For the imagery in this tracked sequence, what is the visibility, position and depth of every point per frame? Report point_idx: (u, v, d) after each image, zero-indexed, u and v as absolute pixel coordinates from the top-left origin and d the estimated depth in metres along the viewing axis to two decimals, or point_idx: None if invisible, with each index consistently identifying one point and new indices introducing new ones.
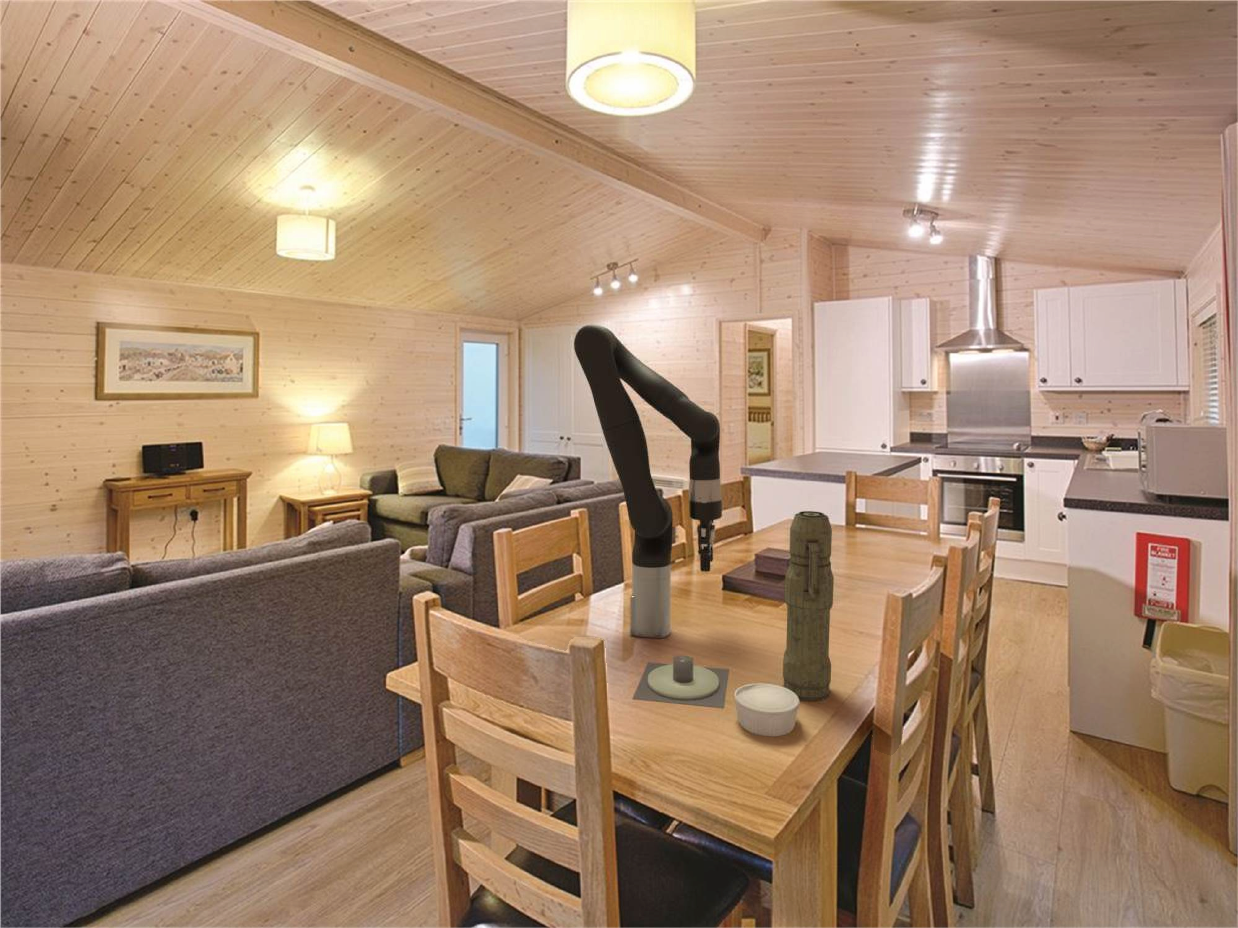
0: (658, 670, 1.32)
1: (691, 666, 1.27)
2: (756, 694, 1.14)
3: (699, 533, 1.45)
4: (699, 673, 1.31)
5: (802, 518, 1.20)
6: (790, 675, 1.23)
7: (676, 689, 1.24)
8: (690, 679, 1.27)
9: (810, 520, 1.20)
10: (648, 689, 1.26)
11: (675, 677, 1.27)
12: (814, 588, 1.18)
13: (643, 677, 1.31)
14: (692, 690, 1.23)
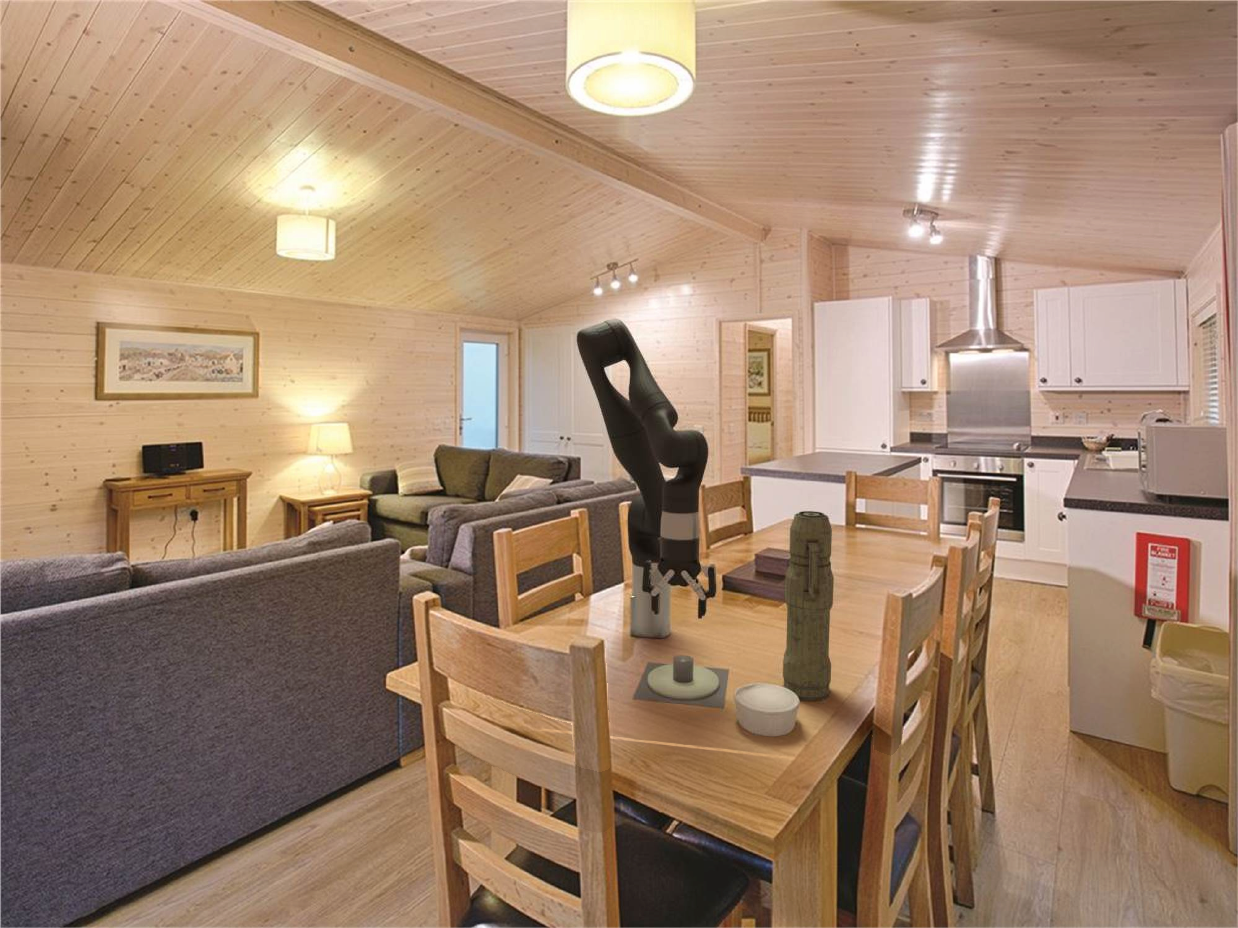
0: (658, 670, 1.32)
1: (691, 666, 1.27)
2: (756, 694, 1.14)
3: (714, 572, 1.23)
4: (699, 673, 1.31)
5: (802, 518, 1.20)
6: (790, 675, 1.23)
7: (676, 689, 1.24)
8: (690, 679, 1.27)
9: (810, 520, 1.20)
10: (648, 689, 1.26)
11: (675, 677, 1.27)
12: (814, 588, 1.18)
13: (643, 677, 1.31)
14: (692, 690, 1.23)
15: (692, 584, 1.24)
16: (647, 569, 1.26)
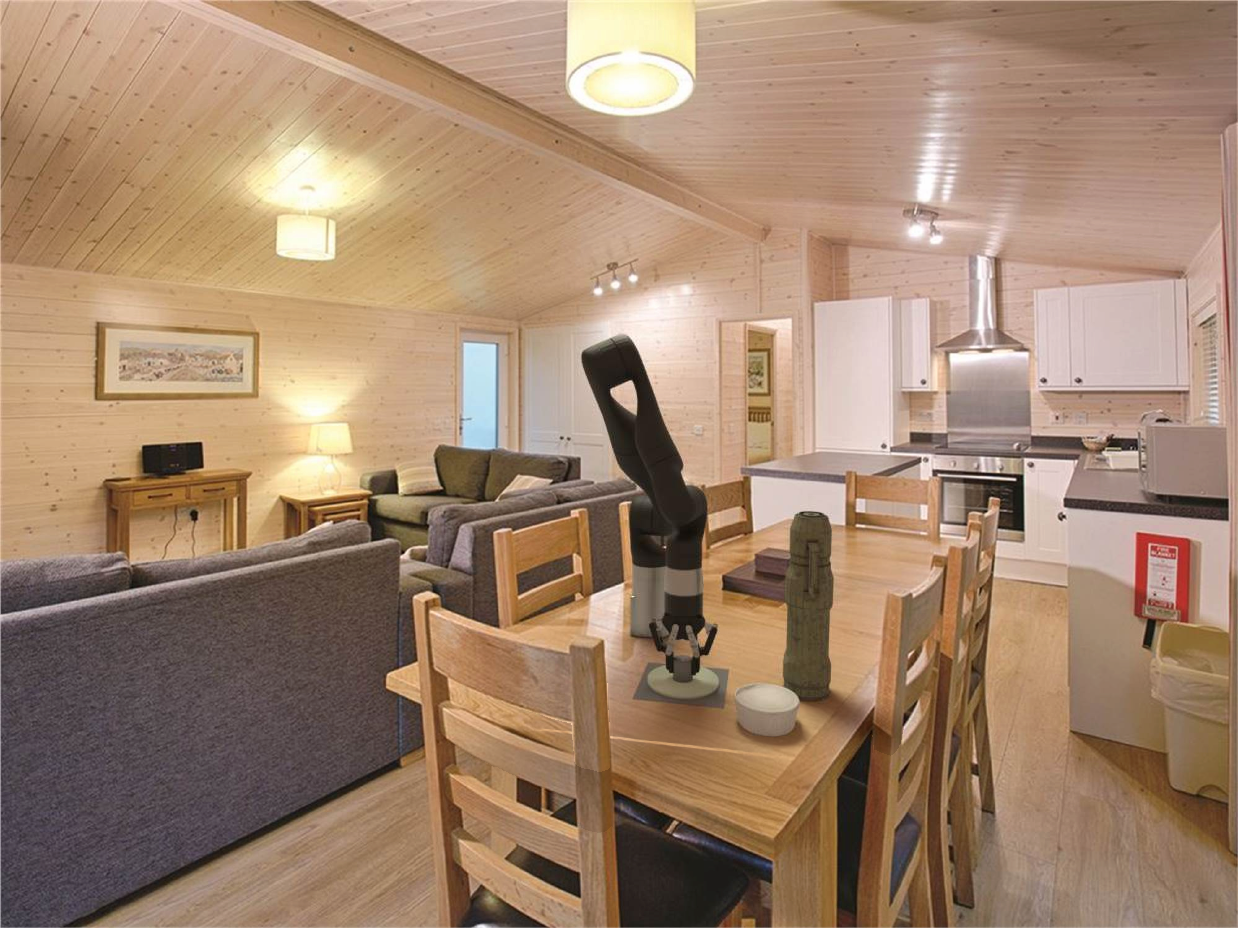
0: (658, 670, 1.32)
1: (691, 666, 1.27)
2: (756, 694, 1.14)
3: (716, 633, 1.25)
4: (699, 673, 1.31)
5: (802, 518, 1.20)
6: (790, 675, 1.23)
7: (676, 689, 1.24)
8: (690, 679, 1.27)
9: (810, 520, 1.20)
10: (648, 689, 1.26)
11: (675, 677, 1.27)
12: (814, 588, 1.18)
13: (643, 677, 1.31)
14: (692, 690, 1.23)
15: (692, 640, 1.25)
16: (654, 629, 1.27)
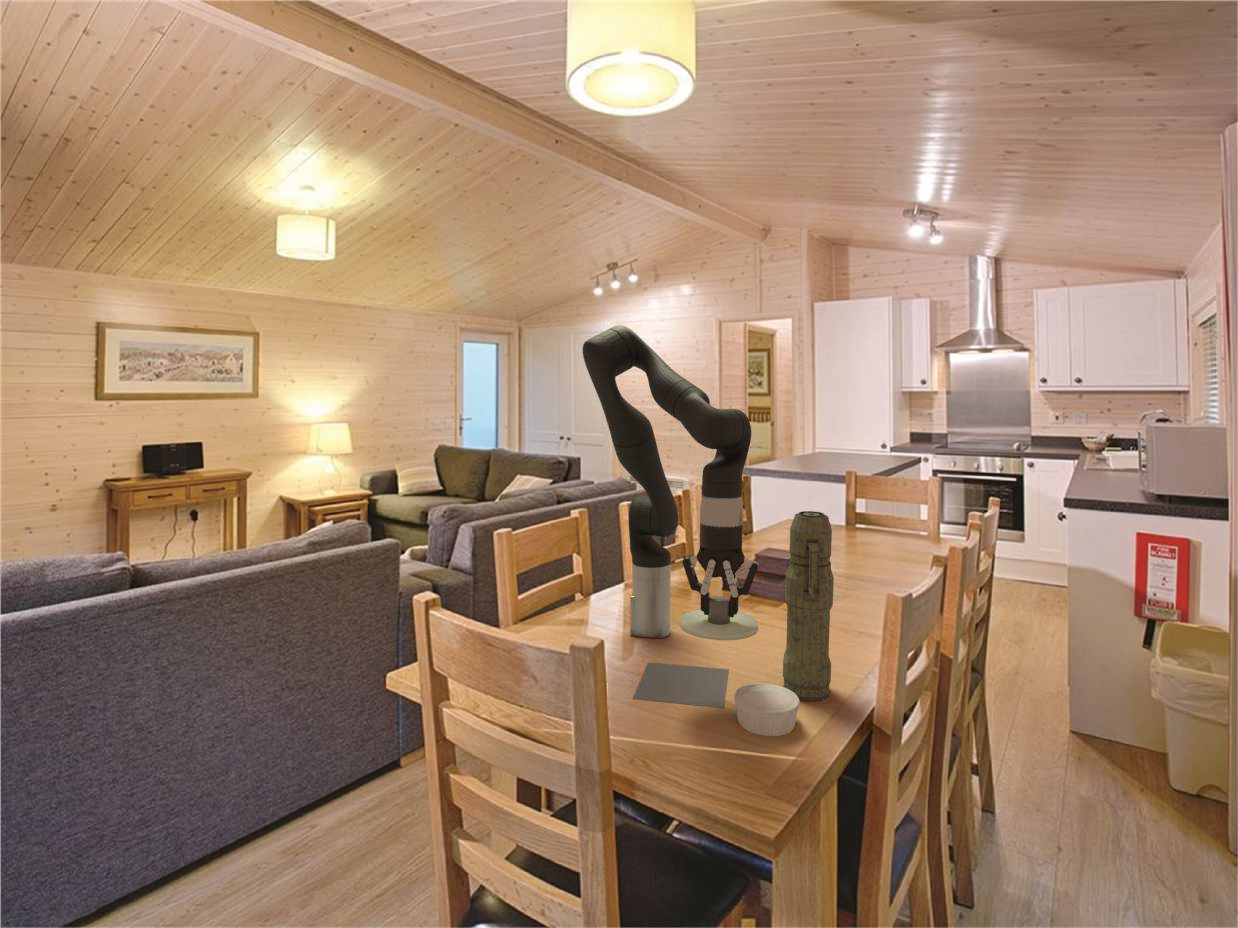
0: (692, 613, 1.21)
1: (728, 607, 1.16)
2: (756, 694, 1.14)
3: (756, 570, 1.14)
4: (736, 617, 1.19)
5: (802, 518, 1.20)
6: (790, 675, 1.23)
7: (711, 629, 1.13)
8: (727, 621, 1.16)
9: (810, 520, 1.20)
10: (648, 689, 1.26)
11: (710, 619, 1.16)
12: (814, 588, 1.18)
13: (643, 677, 1.31)
14: (729, 631, 1.12)
15: (730, 577, 1.14)
16: (688, 565, 1.17)
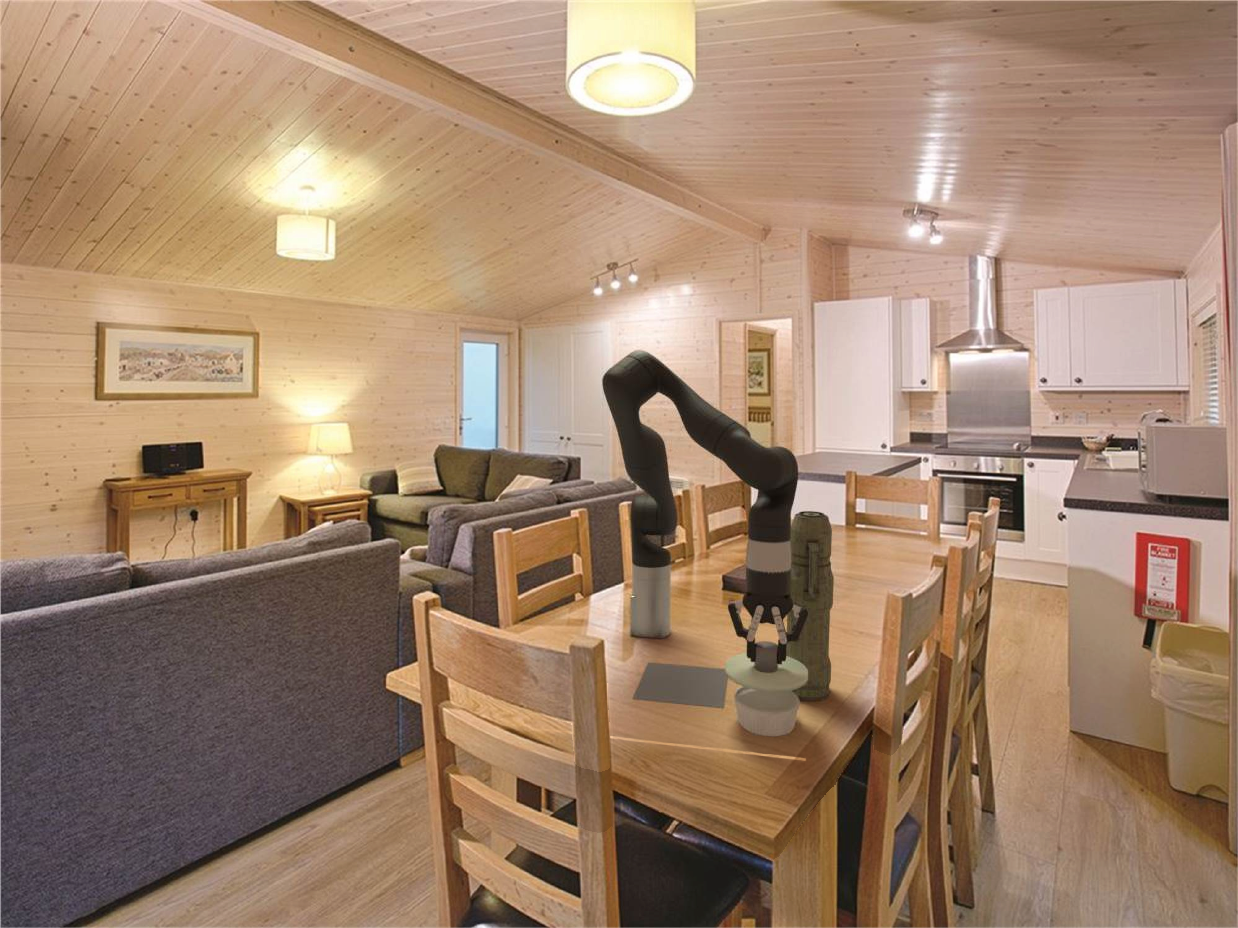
0: (735, 659, 1.16)
1: (776, 653, 1.11)
2: (756, 694, 1.14)
3: (806, 616, 1.09)
4: (783, 662, 1.14)
5: (802, 518, 1.20)
6: None
7: (762, 679, 1.07)
8: (775, 668, 1.11)
9: (810, 520, 1.20)
10: (648, 689, 1.26)
11: (758, 666, 1.11)
12: (814, 588, 1.18)
13: (643, 677, 1.31)
14: (780, 681, 1.07)
15: (778, 624, 1.09)
16: (733, 611, 1.11)
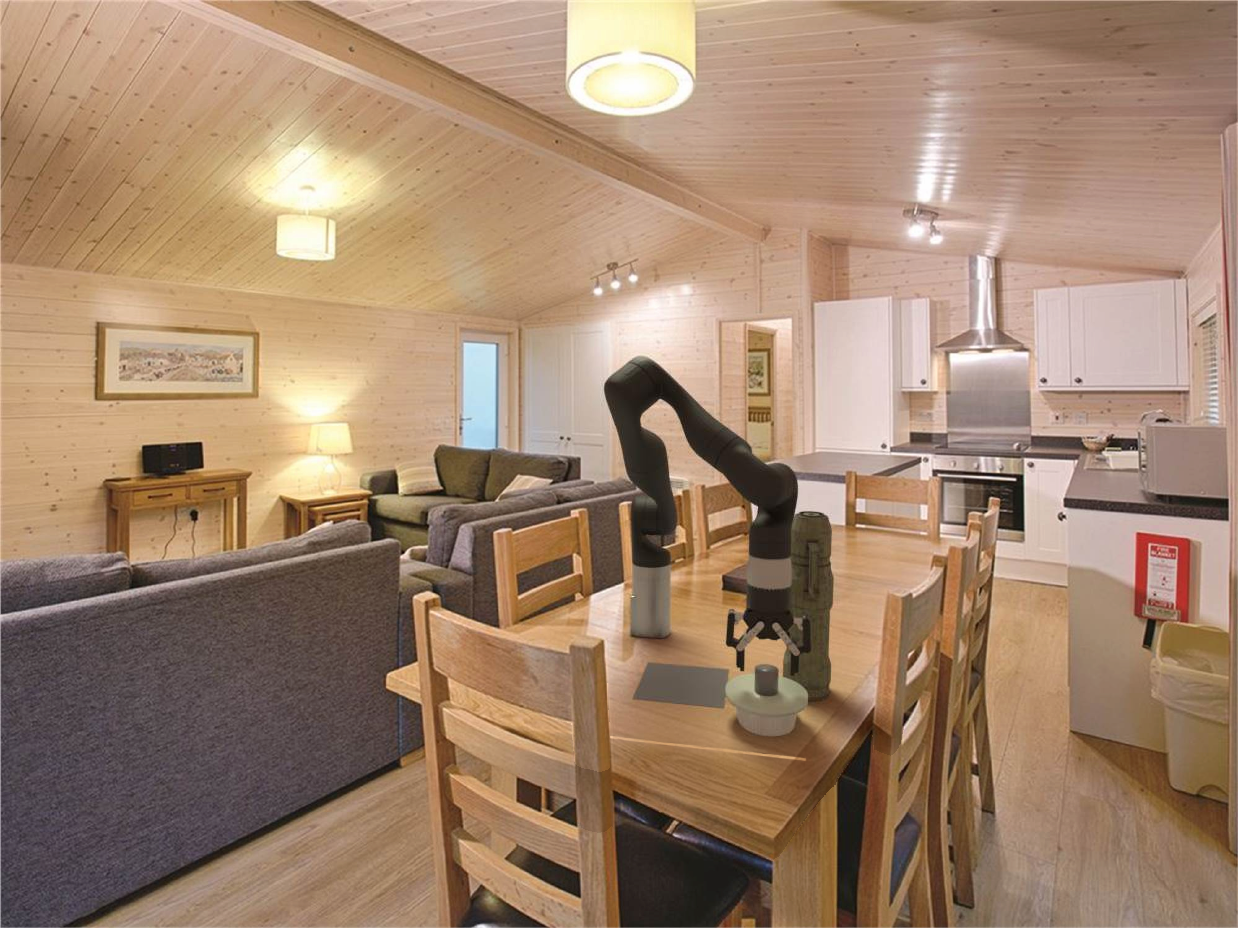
0: (735, 681, 1.16)
1: (777, 677, 1.11)
2: None
3: None
4: (782, 684, 1.15)
5: (802, 518, 1.20)
6: None
7: (762, 704, 1.08)
8: (775, 692, 1.11)
9: (810, 520, 1.20)
10: (648, 689, 1.26)
11: (758, 690, 1.11)
12: (814, 588, 1.18)
13: (643, 677, 1.31)
14: (781, 705, 1.08)
15: (784, 638, 1.09)
16: (732, 621, 1.12)
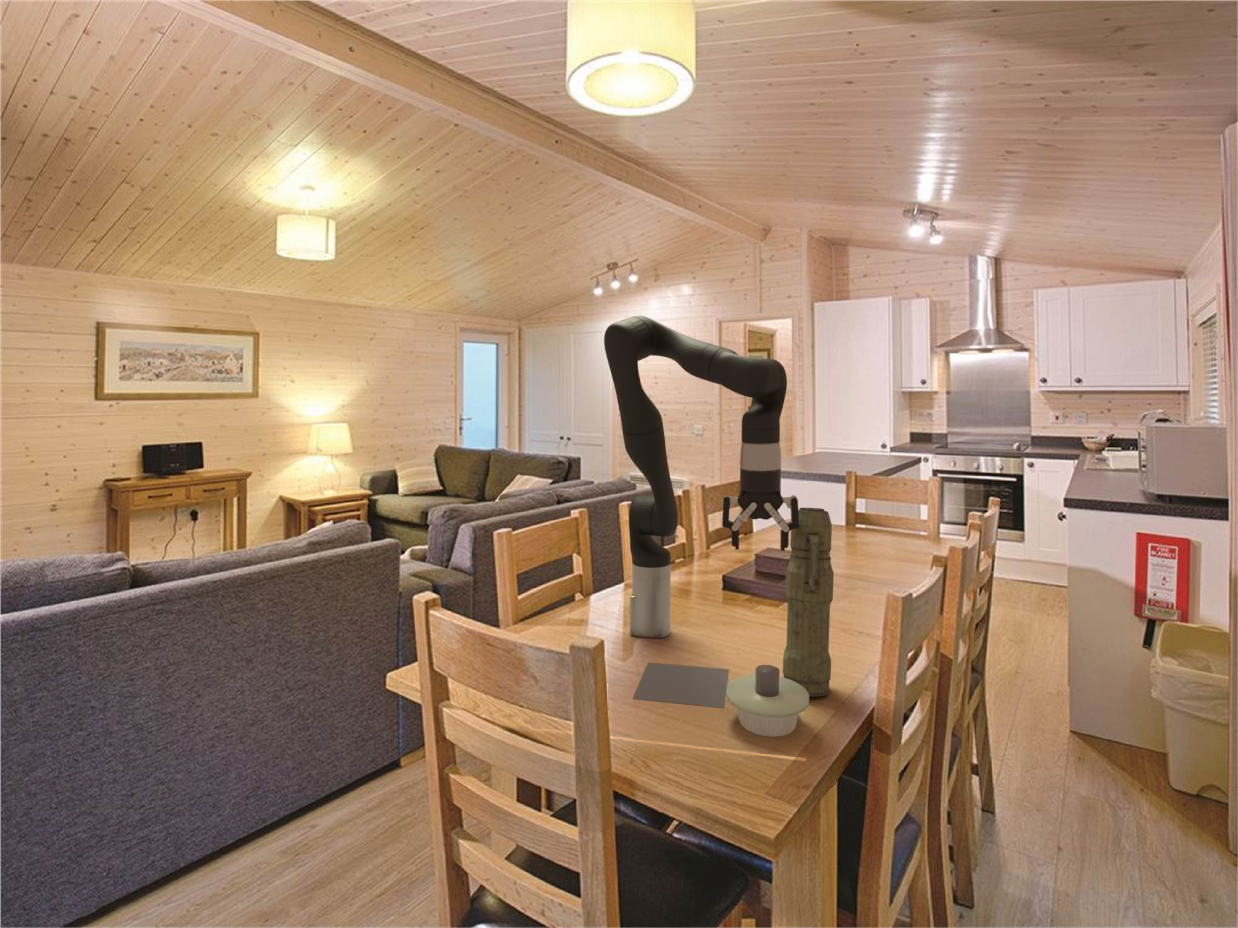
0: (736, 682, 1.16)
1: (778, 678, 1.11)
2: None
3: (797, 503, 1.21)
4: (783, 685, 1.15)
5: (803, 512, 1.24)
6: (790, 670, 1.24)
7: (763, 704, 1.08)
8: (776, 692, 1.11)
9: (810, 513, 1.23)
10: (648, 689, 1.26)
11: (759, 690, 1.11)
12: (814, 579, 1.20)
13: (643, 677, 1.31)
14: (782, 705, 1.08)
15: (775, 516, 1.22)
16: (727, 504, 1.23)
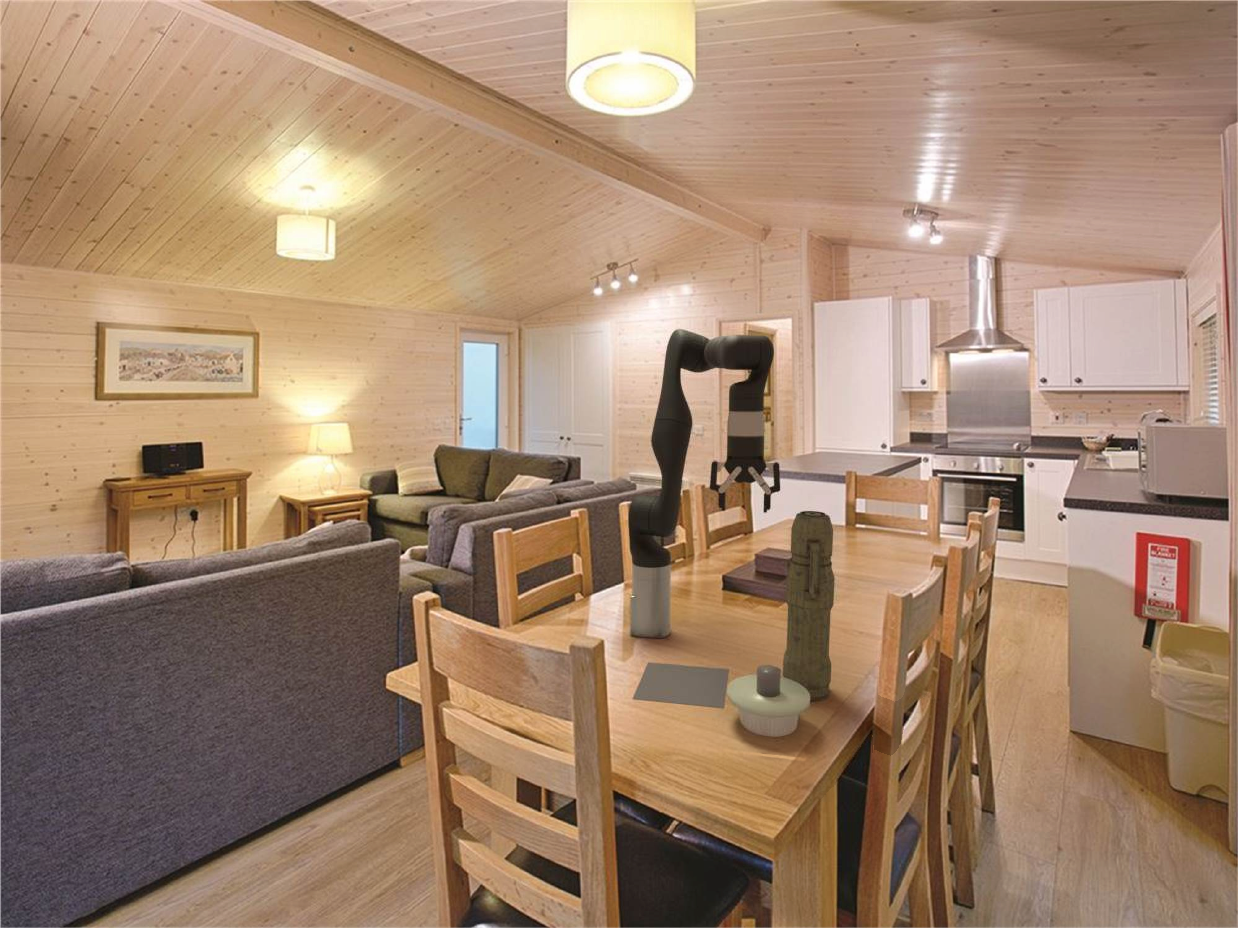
0: (737, 682, 1.16)
1: (779, 678, 1.11)
2: None
3: None
4: (785, 685, 1.15)
5: (803, 518, 1.21)
6: (790, 675, 1.23)
7: (764, 704, 1.08)
8: (777, 693, 1.11)
9: (811, 519, 1.20)
10: (648, 689, 1.26)
11: (760, 690, 1.11)
12: (815, 588, 1.18)
13: (643, 677, 1.31)
14: (783, 706, 1.07)
15: (758, 479, 1.32)
16: (715, 468, 1.34)
